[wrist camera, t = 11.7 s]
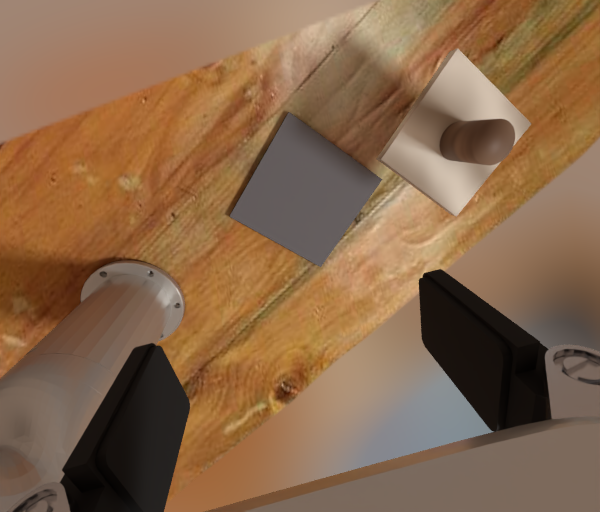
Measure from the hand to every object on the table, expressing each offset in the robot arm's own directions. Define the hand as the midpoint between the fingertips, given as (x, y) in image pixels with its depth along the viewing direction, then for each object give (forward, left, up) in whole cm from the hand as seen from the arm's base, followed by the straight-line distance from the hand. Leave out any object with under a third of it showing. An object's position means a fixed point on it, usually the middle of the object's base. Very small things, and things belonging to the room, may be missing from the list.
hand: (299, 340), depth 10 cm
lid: (+15, -12, -21) cm, 29 cm away
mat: (+2, -4, -28) cm, 29 cm away
